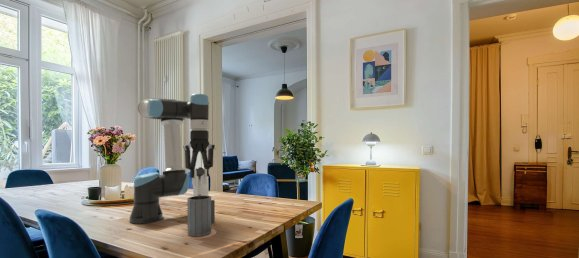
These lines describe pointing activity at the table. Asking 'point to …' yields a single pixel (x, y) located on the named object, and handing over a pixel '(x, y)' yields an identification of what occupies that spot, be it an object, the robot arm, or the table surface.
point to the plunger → (199, 180)
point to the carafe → (200, 216)
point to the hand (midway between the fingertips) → (199, 184)
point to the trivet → (185, 235)
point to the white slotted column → (203, 188)
